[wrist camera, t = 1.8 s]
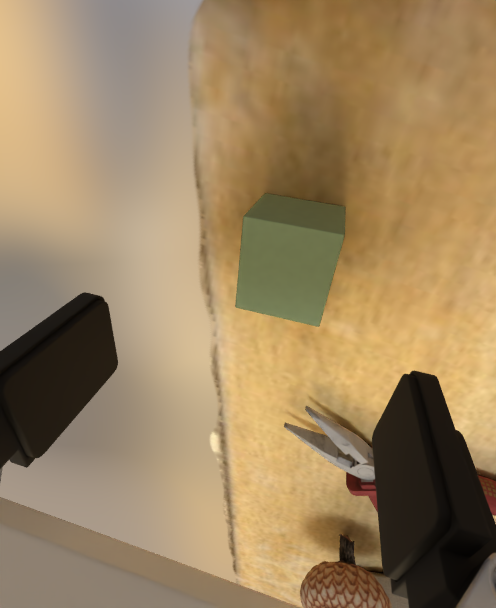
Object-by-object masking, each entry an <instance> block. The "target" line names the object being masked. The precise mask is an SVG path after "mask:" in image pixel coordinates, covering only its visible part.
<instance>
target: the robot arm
mask: <svg viewBox="0 0 496 608" xmlns="http://www.w3.org/2000/svg"><path fill="white" fill-rule="evenodd" d="M117 365H118V360H117V353H116V347H115V342H114V336H113V331H112V324H111V319H110V313H109V307H108V304H107V303H106V302H105V301H104V298H103V297H101V296H98V295H94V294H90V293H82V294H80V295H78V296H77V297H76V298H74V299H73V300H71V301H70V302H69V303H67V304H66V305H64V306H63V307H62V308H60V309H59V310H57V311H56V312H55V313H53V314H52V315H51V316H49V317H48V318H46V319H45V320H43V321H42V322H41V323H39V324H38V325H36V326H35V327H34V328H32V329H31V330H29V331H28V332H27V333H25V334H24V335H22V336H21V337H20V338H18V339H17V340H15V341H14V342H13V343H11V344H10V345H8V346H7V347H6V348H5V349H3V350H2V351H0V481H1V473H2V467H3V466H4V465H5V463H6V462H7V461H8V460H9V459H10V461H11V462H12V463H15V464H18V465H21V466H24V467H28V466H29V465H30V464H31V463H32V462H33V460H34V459H35V458H39V457H40V456H42V455H43V454H44V453H45V452H46V451H47V450H48V449H49V447H50V446H51V445H52V444H53V443H54V442H55V440H56V439H57V438H58V437H59V436H60V435H61V433H62V432H63V431H64V430H65V429H66V428H67V427H68V425H69V424H70V423H71V422H72V421H73V419H74V418H75V417H76V416H77V415H78V414H79V413H80V411H81V410H82V409H83V408H84V407H85V406H86V404H87V403H88V402H89V401H90V400H91V399H92V397H93V396H94V395H95V394H96V393H97V392H98V390H99V389H100V388H101V387H102V386H103V385H104V383H105V382H106V381H107V380H108V379H109V378H110V376H111V375H112V374H113V373H114V372H115V370H116V368H117ZM372 449H373V461H374V473H375V484H376V496H377V508H378V520H379V532H380V543H381V555H382V566H383V572H384V575H385V576H386V577H388V578H390V580H391V590H392V594H394V595H397V596H400V597H403V598H406V599H408V604H409V608H496V524H495V521H494V518H493V516H492V513H491V510H490V507H489V505H488V502H487V499H486V496H485V494H484V491H483V488H482V486H481V483H480V480H479V477H478V475H477V472H476V469H475V466H474V464H473V461H472V458H471V455H470V453H469V450H468V447H467V444H466V442H465V439H464V437H463V435H462V434H461V433H460V432H459V431H457V430H455V427H454V424H453V421H452V419H451V416H450V413H449V410H448V407H447V404H446V401H445V398H444V395H443V393H442V390H441V387H440V384H439V381H438V379H437V377H436V376H435V375H431V374H426V373H422V372H418V371H412V372H411V373H410V374H409V375H408V374H404V375H403V376H402V377H401V379H400V381H399V383H398V385H397V387H396V389H395V391H394V393H393V395H392V397H391V399H390V401H389V403H388V405H387V407H386V409H385V410H384V412H383V414H382V416H381V418H380V420H379V422H378V424H377V426H376V428H375V430H374V432H373V437H372ZM0 608H300V607H297V606H295V605H292V604H289V603H287V602H284V601H281V600H279V599H276V598H273V597H271V596H268V595H265V594H263V593H260V592H257V591H254V590H252V589H249V588H246V587H244V586H241V585H238V584H236V583H233V582H230V581H228V580H225V579H222V578H219V577H217V576H214V575H212V574H209V573H206V572H203V571H201V570H198V569H196V568H193V567H190V566H187V565H185V564H182V563H179V562H177V561H174V560H171V559H168V558H166V557H163V556H160V555H158V554H155V553H152V552H149V551H147V550H144V549H141V548H139V547H136V546H133V545H130V544H128V543H125V542H122V541H119V540H117V539H114V538H111V537H109V536H106V535H103V534H100V533H98V532H95V531H92V530H89V529H87V528H84V527H81V526H78V525H76V524H73V523H70V522H67V521H65V520H62V519H59V518H56V517H53V516H51V515H48V514H45V513H43V512H40V511H37V510H34V509H31V508H29V507H26V506H23V505H20V504H18V503H15V502H12V501H9V500H7V499H4V498H1V497H0Z"/></svg>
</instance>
